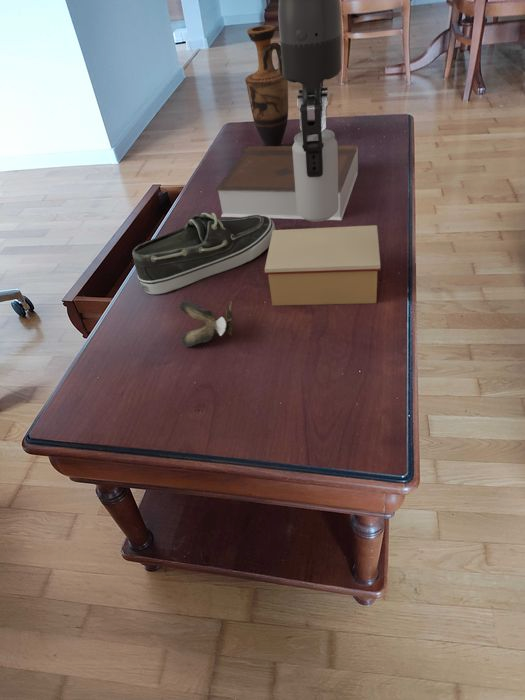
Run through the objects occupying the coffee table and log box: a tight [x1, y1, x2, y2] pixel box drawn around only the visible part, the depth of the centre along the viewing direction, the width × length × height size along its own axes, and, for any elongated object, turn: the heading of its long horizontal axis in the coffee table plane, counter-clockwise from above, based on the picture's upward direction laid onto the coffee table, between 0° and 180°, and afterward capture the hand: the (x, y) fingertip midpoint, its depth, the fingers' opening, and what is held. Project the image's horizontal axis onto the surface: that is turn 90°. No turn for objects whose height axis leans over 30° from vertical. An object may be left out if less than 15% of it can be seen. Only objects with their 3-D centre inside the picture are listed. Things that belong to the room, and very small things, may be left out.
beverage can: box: [291, 128, 339, 223], centre depth 76 cm, size 6×6×12 cm
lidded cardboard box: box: [264, 224, 382, 306], centre depth 91 cm, size 19×13×8 cm
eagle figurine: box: [178, 300, 234, 348], centre depth 85 cm, size 8×7×9 cm
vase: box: [244, 24, 289, 146], centre depth 133 cm, size 11×11×30 cm
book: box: [215, 144, 360, 221], centre depth 121 cm, size 24×28×6 cm
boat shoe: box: [131, 212, 277, 295], centre depth 100 cm, size 11×31×10 cm, turn 125°
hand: (315, 165), depth 74 cm, fingers closed on beverage can, 6 cm apart
